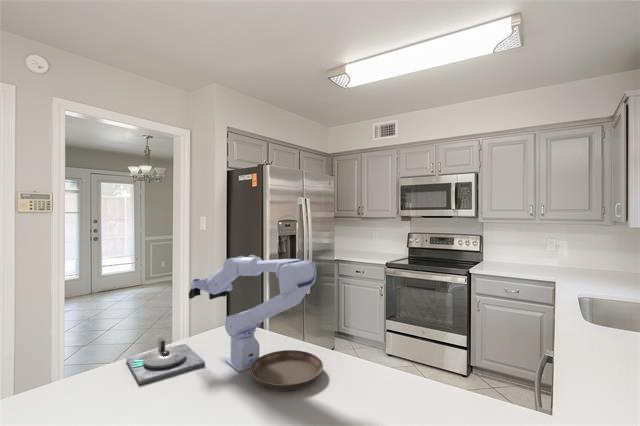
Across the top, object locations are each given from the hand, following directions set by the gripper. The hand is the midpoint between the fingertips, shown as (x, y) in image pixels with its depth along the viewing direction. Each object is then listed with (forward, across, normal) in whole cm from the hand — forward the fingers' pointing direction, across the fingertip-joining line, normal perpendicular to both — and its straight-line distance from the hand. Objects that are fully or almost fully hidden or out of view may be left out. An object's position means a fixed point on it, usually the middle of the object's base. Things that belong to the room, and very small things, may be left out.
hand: (200, 296), depth 117 cm
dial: (+6, +10, +19) cm, 22 cm away
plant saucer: (-23, -11, +34) cm, 43 cm away
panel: (+6, +10, +20) cm, 23 cm away
